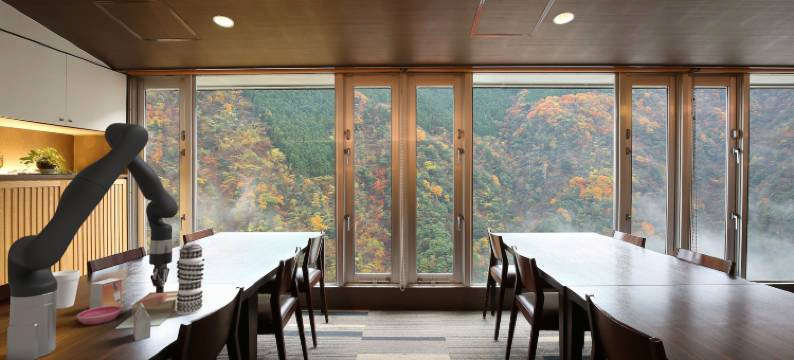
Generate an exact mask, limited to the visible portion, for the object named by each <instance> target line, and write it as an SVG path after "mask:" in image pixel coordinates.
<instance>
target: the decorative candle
mask: <svg viewBox="0 0 794 360" xmlns="http://www.w3.org/2000/svg"><path fill="white" fill-rule="evenodd" d="M203 250H204V247H202V246H201V244H185V245H182V247H181V249H179V250H178V251H179V257H178V258H179V259H178V260H177V261H176V264H177V265H176V268H177V269H178V270H177V272H176V278H177V283H178V290H177V291H178V294H177V296H178V298H177V300H178V302H177V309H176V314H177V315H181V316H183V315H184V316H185V315H186V316H187V315H194V314H197V313H199V312H201V311H203V304H202V303H203V299H202V298H203V295H202V294H203V290H202V289H203V287H202V280H204V277H202V276H204V273H203V272H202V271H204V269H205V268H204V266H205V263H202V262H204V261H205V258H203Z"/></svg>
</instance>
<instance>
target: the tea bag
mask: <svg viewBox="0 0 794 360" xmlns="http://www.w3.org/2000/svg"><path fill="white" fill-rule="evenodd" d="M151 327H152V326H151V319H150V317H149V315H148V313H147V312H146V310H145V308H144V306H143V304H142V302H140V304H139V306H138V308H137V310H136V312H135V314H134V316H133V328H132V336H133V338H134V340H135V342H137V341H141V340H142V341H143V340H146V339H150V338H151Z"/></svg>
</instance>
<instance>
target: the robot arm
mask: <svg viewBox="0 0 794 360" xmlns="http://www.w3.org/2000/svg"><path fill="white" fill-rule="evenodd" d="M149 136H150V135H149V132H148V130H147V128H145V126H143V125H139V124H136V123H127V122H126V123H125V122H114V123H113V122H112V123H111V124H108V126H107V127H106V128H105V131H104V138H105V141H106V142H107V144H108V146H109V147H110V148H111V149H110V150H109V151H108V152H107V153H106V154H105V155H104V156H102V157H101V158H99V159H98V160H96V161H94V162H92V163H91V164H89V165H88V166H86V167H83V169H81V170H80V171H79V172H78V173H77V174H76V175H75V176H74V177H73V179H71V180H70V182H69V183H68V185H66V187H65V188H64V189H63V191H62V193H61V195H60V197H59V200H58V203H57V207H56V210H55V211H54V214H53V215H52V217H51V218H50V220H49V221H48V223H47V224H46V225H45V226H44V227H43V228H42V229H41V230H40V232H38V234H37V235H36V234H29V235H25V236H22V237H20V238H17V239H16V240H15V241H14V242H13V243H12V244H11V245H10V247H9V249H8V252H7V260H6V261H7V264H6V265H7V284H8V287H9V289H10V305H9V306H10V307H9V326H8V327H7V329H6V331H7V332H6V333H7V334H6V355H5V356H6V359H5V360H36V359H38V358H41V357H42V358H43V357H44V356H46V355H49V354H51V353H53V352H54V351H55V350H56V332H57V309H56V306H57V280H56V279H55V277H54V276H53V274H52V273H53V271H52V267H53V266H54V265H56V264H57V263H59V261H60V260H61V259H62V258H63V257H64V255H65V254H66V252H67V250H68V249H69V246H70V245H71V243H72V241H73V240H74V238H75V236H76V235H77V233H78V232H79V230H80V229H81V227H82V225H84V223H85V222H86V221H87V220H88V218H89V217H90V215H92V212H94V210H95V209H96V208H97V206H98V205H99V204H100V203H101V201H103V199H104V198H105V196H106V195H107V193H108V192H109V191H110V189H111V188H112V186H113V185H114V184H115V182H116V181H117V180H118V179H119V177H120V176H121V175H122V174H123V172H124V171H125V169H127V170H128V172H129V173H130V174H131V176H132V178H133V179H134V181H135V183H136V184H137V185H136V186H137V187H138V189H139V191H140V192H141V194H142V196H143V197H144V199H146V200H147V201H149V202H148V204H147V205H146V209H145V215H146V218H147V222H148V224H149V228H150V240H149V241H150V243H149V250H148V255H149V256H148V264H149V265H151V266H153V270H152V274H151V275H150V279H151V280H150V281H151V283H152V285H153V287H155V292H156V293H164V292H165V291H164V290H165V287H164V286H165V285H166V283H167V280H168V276H169V273H170V268H169V267H168V265H169V264H171V263H172V262H173V247H174V246H173V226H172V225H171V224H169V223H165V222H164V219H172V218H174V217H176V216H177V214H178V213H179V212H178V211H179V207H178V204H177V202H176V200H175V199H174V197H173V196H171V195H170V193H169V192H168V191H167V190H166V189H165V188H164V185H163V184H162V181H161V179H160V177H159V176H158V175H157V173H156V172H155V170H154V169H153V168H152V166H150V165H149V164H148V163H147V162H146V161H145V160H144V159H143V158H142V156H141V155H140V153H141V152H142V151H143V150H144V149H145V148H146V145H147V143H148V142H149Z"/></svg>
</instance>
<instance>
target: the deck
mask: <svg viewBox="0 0 794 360" xmlns="http://www.w3.org/2000/svg"><path fill="white" fill-rule="evenodd" d="M150 293H156V291H153V292H151V291H150V292H149V293H148V294H150ZM164 293H167V299H166V300H165V301H164V302H162V303H161V304H160V305H158V306H157V307H144V308H145V310H146V312H147V313H148V314H159V313H172V314H173V313H174V312H175V311H177V302H178V300H177V298H178V296H177V294H178V290H173V291H172V290H169V291H164ZM148 294H146V295H145V296H147V295H148ZM131 308H132V309H131V311H132V312H131V316H132V315H134V314H135V312H136V310H137V308H138V301H136V302H135V303H134V304H132V307H131Z"/></svg>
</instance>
